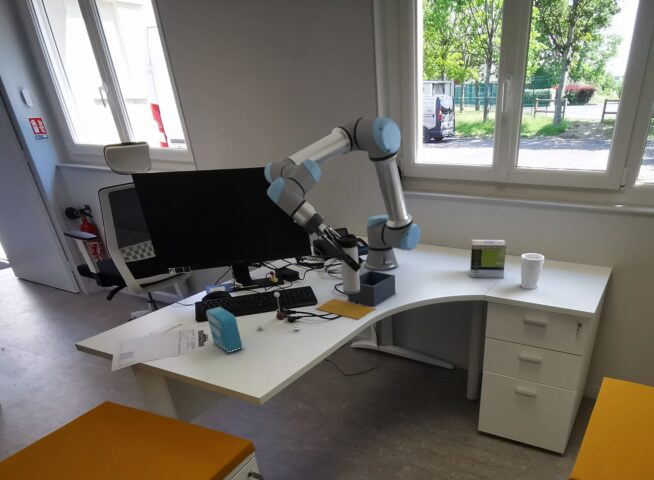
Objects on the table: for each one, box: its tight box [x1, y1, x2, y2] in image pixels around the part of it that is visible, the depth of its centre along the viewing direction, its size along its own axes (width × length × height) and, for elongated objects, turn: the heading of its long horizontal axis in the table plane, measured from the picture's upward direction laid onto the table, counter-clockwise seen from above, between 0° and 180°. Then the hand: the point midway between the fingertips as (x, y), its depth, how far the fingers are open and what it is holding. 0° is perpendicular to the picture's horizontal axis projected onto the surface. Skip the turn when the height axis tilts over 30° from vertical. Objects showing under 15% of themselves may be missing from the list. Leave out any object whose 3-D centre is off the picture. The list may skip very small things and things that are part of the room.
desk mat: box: [315, 298, 376, 321], centre depth 174 cm, size 20×11×1 cm, turn 61°
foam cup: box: [520, 252, 545, 290], centre depth 191 cm, size 10×9×13 cm
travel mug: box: [339, 233, 360, 295], centre depth 163 cm, size 6×7×20 cm
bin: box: [347, 269, 396, 308], centre depth 183 cm, size 13×16×8 cm
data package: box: [205, 306, 243, 354], centre depth 145 cm, size 12×4×12 cm, turn 45°
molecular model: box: [256, 291, 301, 332], centre depth 158 cm, size 13×15×13 cm
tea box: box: [469, 239, 507, 278], centre depth 204 cm, size 15×10×15 cm
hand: (359, 266), depth 163 cm, fingers closed on travel mug, 6 cm apart
